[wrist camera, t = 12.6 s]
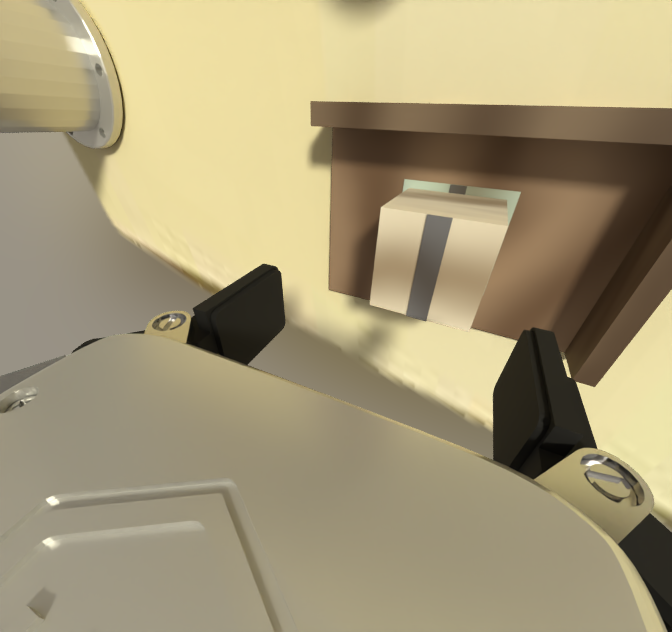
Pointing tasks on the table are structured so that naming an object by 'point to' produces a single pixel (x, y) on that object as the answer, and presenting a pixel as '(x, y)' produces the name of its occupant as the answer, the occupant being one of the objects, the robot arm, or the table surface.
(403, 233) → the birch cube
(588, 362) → the wooden tray
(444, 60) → the table surface
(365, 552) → the robot arm
